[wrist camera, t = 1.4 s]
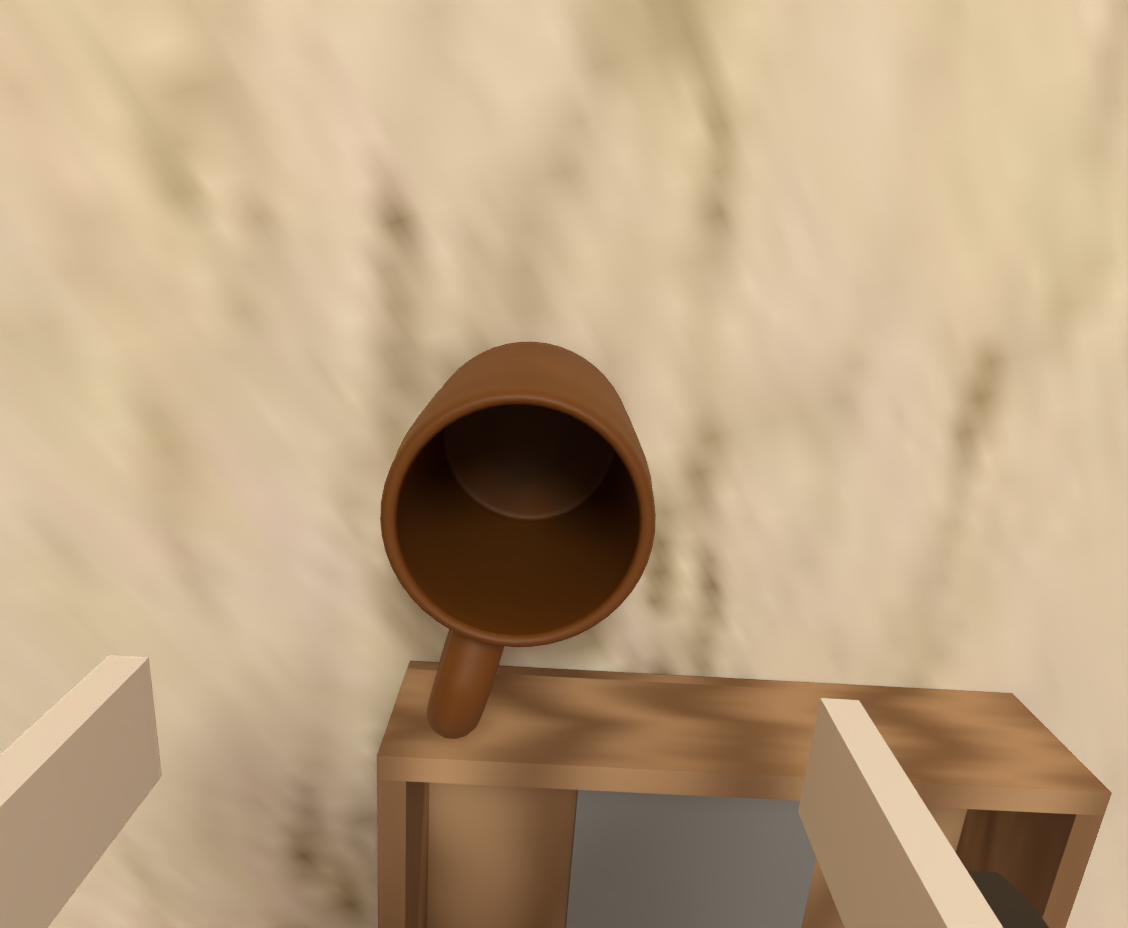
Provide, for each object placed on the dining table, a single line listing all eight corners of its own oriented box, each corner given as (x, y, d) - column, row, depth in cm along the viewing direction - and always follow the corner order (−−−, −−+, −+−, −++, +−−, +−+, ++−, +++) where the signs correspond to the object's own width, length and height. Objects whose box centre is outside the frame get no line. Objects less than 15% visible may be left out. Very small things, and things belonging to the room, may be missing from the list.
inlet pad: (561, 975, 36) (561, 981, 35) (584, 709, 31) (584, 713, 31) (786, 984, 36) (787, 991, 36) (840, 722, 32) (843, 727, 31)
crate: (407, 980, 37) (379, 1118, 31) (410, 661, 31) (377, 756, 26) (925, 1001, 37) (992, 1141, 32) (1012, 693, 32) (1111, 792, 26)
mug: (558, 642, 31) (559, 806, 22) (382, 592, 30) (309, 741, 21) (656, 373, 28) (704, 438, 19) (461, 310, 27) (414, 345, 18)
